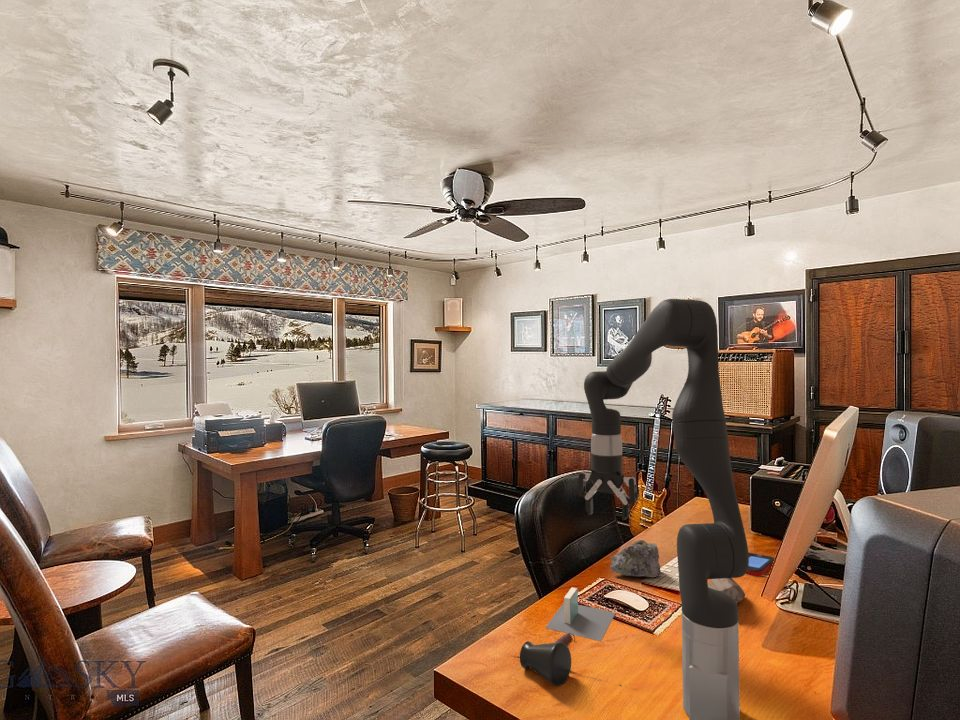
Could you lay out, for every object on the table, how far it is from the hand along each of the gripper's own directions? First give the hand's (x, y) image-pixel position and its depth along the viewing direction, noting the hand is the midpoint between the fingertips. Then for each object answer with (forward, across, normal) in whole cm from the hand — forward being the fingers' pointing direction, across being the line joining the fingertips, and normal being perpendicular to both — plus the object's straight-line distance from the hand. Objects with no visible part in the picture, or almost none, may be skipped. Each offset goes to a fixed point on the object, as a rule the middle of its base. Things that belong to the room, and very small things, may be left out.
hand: (607, 516), depth 129 cm
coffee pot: (+24, -3, -27) cm, 36 cm away
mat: (+23, -4, -9) cm, 25 cm away
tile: (+23, -6, -9) cm, 25 cm away
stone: (+24, +25, +16) cm, 38 cm away
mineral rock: (+24, +1, +24) cm, 34 cm away
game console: (+24, +29, +46) cm, 59 cm away
